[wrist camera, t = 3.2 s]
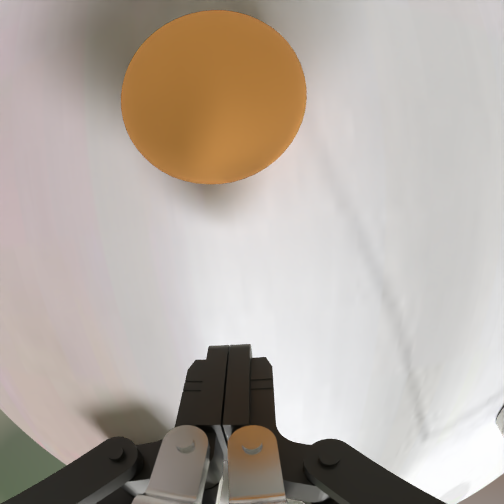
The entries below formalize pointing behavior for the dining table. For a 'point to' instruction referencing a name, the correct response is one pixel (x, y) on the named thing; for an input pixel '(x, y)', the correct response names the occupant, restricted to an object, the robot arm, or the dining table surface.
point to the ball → (213, 97)
